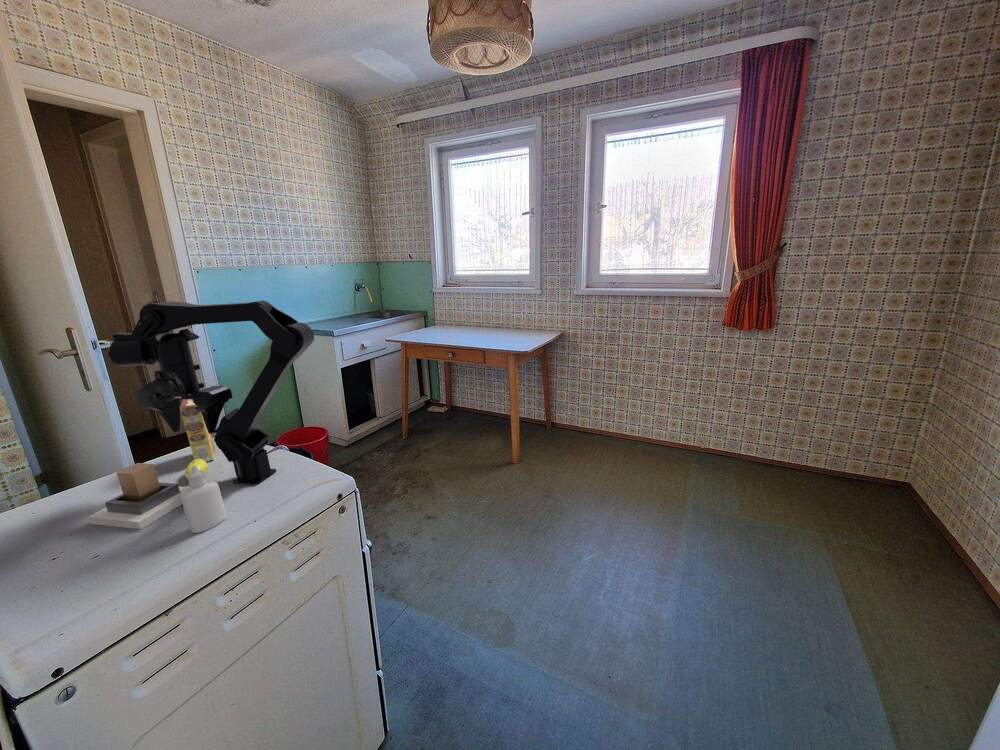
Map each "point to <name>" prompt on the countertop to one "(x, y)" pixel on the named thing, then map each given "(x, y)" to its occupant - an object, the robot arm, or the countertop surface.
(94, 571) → the countertop surface
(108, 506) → the collar plate
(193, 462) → the yellow elongated oval piece
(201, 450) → the candy box
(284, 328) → the robot arm
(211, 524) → the eye dropper bottle
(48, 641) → the countertop surface
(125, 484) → the wooden square prism
